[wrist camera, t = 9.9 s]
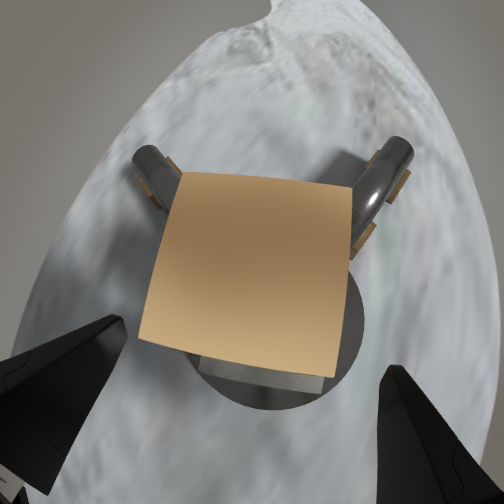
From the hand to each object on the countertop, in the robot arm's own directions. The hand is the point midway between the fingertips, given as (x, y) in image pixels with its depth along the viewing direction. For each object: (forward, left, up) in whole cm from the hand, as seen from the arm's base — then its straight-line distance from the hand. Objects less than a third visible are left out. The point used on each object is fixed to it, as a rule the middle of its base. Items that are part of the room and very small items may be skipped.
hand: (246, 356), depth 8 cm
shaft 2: (-1, -12, -10) cm, 16 cm away
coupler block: (+1, -2, -10) cm, 10 cm away
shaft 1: (+11, -6, -10) cm, 16 cm away
